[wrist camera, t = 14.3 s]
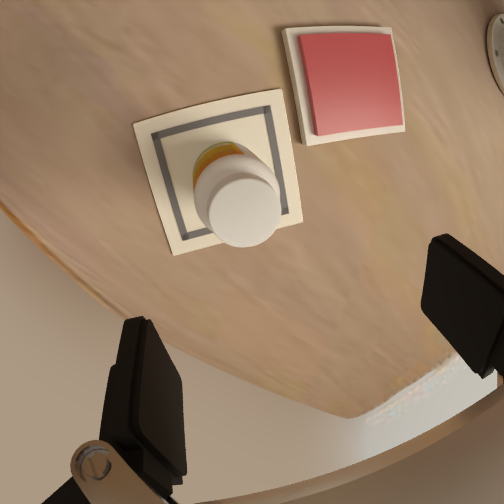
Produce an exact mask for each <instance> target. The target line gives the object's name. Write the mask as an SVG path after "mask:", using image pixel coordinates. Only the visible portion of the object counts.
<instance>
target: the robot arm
mask: <svg viewBox="0 0 504 504" xmlns="http://www.w3.org/2000/svg"><path fill="white" fill-rule="evenodd" d="M487 49H488V56H489V61H490V65H491V68H492V72H493V74H494V77H495V79H496V82H497V84H498V86H499V88H500V89H501V91H502V92H503V94H504V14H497V15H495V16H494V17H493V18H492V19H491V21H490V23H489V26H488V30H487ZM421 309H422V311H423V313H424V314H425V315H426V316H427V317H428V319H429V320H430V321H431V322H432V323H433V324H434V325H435V326H436V328H437V329H438V330H439V331H440V332H441V333H442V335H443V336H444V337H445V338H446V339H447V340H448V342H449V343H450V344H451V345H452V346H453V348H454V349H455V350H456V351H457V352H458V354H459V355H460V356H461V357H462V358H463V360H464V361H465V362H466V363H467V365H468V366H469V367H470V368H471V370H472V371H473V372H474V373H478V374H479V376H480V377H481V378H482V379H483V378H485V377H487V376H488V375H490V374H491V373H493V371H494V369H496V370H497V372H498V373H497V377H498V378H497V381H498V382H497V383H498V384H497V389H496V390H494V391H493V392H491V393H490V394H488V395H487V396H485V397H484V398H482V399H481V400H479V401H478V402H476V403H475V404H473V405H472V406H470V407H469V408H467V409H465V410H464V411H462V412H460V413H459V414H457V415H455V416H454V417H452V418H450V419H449V420H447V421H445V422H443V423H441V424H440V425H438V426H436V427H434V428H432V429H430V430H429V431H427V432H425V433H423V434H421V435H419V436H417V437H415V438H413V439H411V440H409V441H407V442H405V443H403V444H401V445H398V446H396V447H394V448H392V449H390V450H387V451H385V452H383V453H381V454H378V455H376V456H374V457H371V458H368V459H366V460H363V461H361V462H359V463H356V464H353V465H351V466H348V467H345V468H342V469H339V470H337V471H334V472H331V473H328V474H325V475H322V476H318V477H315V478H312V479H309V480H305V481H302V482H298V483H295V484H291V485H287V486H283V487H279V488H275V489H271V490H266V491H262V492H258V493H253V494H248V495H244V496H238V497H233V498H227V499H222V500H215V501H208V502H202V503H196V504H504V275H503V274H501V273H500V272H499V271H498V270H496V269H495V268H494V267H493V266H491V265H490V264H489V263H487V262H486V261H485V260H484V259H482V258H481V257H480V256H478V255H477V254H476V253H474V252H473V251H472V250H470V249H469V248H467V247H466V246H465V245H463V244H462V243H461V242H459V241H458V240H456V239H455V238H454V237H452V236H451V235H449V234H442V235H439V236H436V237H434V238H432V240H431V243H430V244H429V247H428V255H427V264H426V272H425V279H424V286H423V292H422V299H421ZM70 467H71V473H72V475H73V476H72V477H71V478H70V479H69V480H68V481H67V482H65V483H64V484H63V485H62V486H61V487H60V488H59V489H58V490H57V491H55V492H54V493H53V494H52V495H51V496H50V497H49V498H47V499H46V500H45V501H44V502H43V503H42V504H180V503H179V502H177V501H176V500H175V499H174V498H173V497H172V496H171V494H172V493H173V489H172V485H181V484H183V480H182V476H185V475H186V474H187V462H186V449H185V434H184V418H183V393H182V381H181V377H180V375H179V373H178V371H177V369H176V367H175V366H174V364H173V362H172V360H171V358H170V356H169V354H168V352H167V350H166V349H165V347H164V345H163V343H162V341H161V339H160V337H159V335H158V333H157V331H156V329H155V327H154V325H153V323H152V321H151V320H150V319H148V320H146V319H145V318H144V317H143V316H140V317H135V318H131V319H126V320H125V321H124V324H123V329H122V334H121V339H120V344H119V349H118V354H117V359H116V364H115V365H113V366H112V367H111V369H110V372H109V377H108V383H107V388H106V394H105V400H104V407H103V413H102V420H101V427H100V435H99V440H92V441H88V442H86V443H84V444H82V445H81V446H80V447H79V448H78V449H77V450H76V451H75V453H74V454H73V456H72V459H71V464H70Z"/></svg>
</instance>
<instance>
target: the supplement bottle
mask: <svg viewBox="0 0 504 504" xmlns="http://www.w3.org/2000/svg"><path fill="white" fill-rule="evenodd" d="M192 177H193V192H194V204H195V208H196V212H197V214H198V216H199V218H200V220H201V221H202V223H203V224H204V225H205V226H206V227H207V228H208V229H209V230H211V231H212V232H213V233H214V234H215V235H216V236H217V237H218V238H219V239H220V240H221V241H223V242H224V243H226V244H228V245H231V246H234V247H251V246H255V245H257V244H260V243H262V242H263V241H265V240H266V239H268V238H269V237H270V236H271V235H272V234H273V233H274V231H275V230H276V228H277V226H278V224H279V221H280V218H281V203H280V188H279V184H278V181H277V179H276V177H275V175H274V173H273V172H272V171H271V169H270V168H269V167H268V166H267V165H266V164H265V163H264V162H263V161H261V160H260V159H259V158H258V157H257V156H256V155H255V154H254V153H253V152H251V151H250V150H249V149H248V148H246V147H245V146H243V145H241V144H238V143H235V142H219V143H216V144H213V145H211V146H209V147H208V148H206V149H205V150H204V151H203V152H202V153H201V154H200V155H199V157H198V158H197V160H196V162H195V164H194V168H193V175H192Z"/></svg>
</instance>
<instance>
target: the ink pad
mask: <svg viewBox="0 0 504 504" xmlns="http://www.w3.org/2000/svg"><path fill="white" fill-rule="evenodd" d="M281 33H282V38H283V43H284V47H285V52H286V57H287V62H288V67H289V72H290V77H291V82H292V88H293V93H294V99H295V104H296V110H297V116H298V122H299V128H300V134H301V140H302V144H303V145H305V146H311V145H316V144H322V143H328V142H334V141H340V140H346V139H352V138H359V137H366V136H373V135H380V134H388V133H396V132H405V121H404V110H403V100H402V91H401V83H400V76H399V69H398V62H397V56H396V50H395V45H394V39H393V34H392V29H391V28H387V27H370V26H314V27H296V28H285V29H284V30H282V31H281Z"/></svg>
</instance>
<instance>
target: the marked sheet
mask: <svg viewBox="0 0 504 504" xmlns="http://www.w3.org/2000/svg"><path fill="white" fill-rule="evenodd" d="M133 126H134V130H135V134H136V137H137V141H138V145H139V148H140V152H141V155H142V159H143V162H144V166H145V169H146V172H147V176H148V179H149V182H150V186H151V189H152V192H153V195H154V199H155V202H156V205H157V208H158V211H159V214H160V217H161V220H162V223H163V226H164V229H165V232H166V235H167V238H168V241H169V244H170V247H171V250H172V253H173V256H175V255H179V254H183V253H186V252H190V251H194V250H198V249H201V248H205V247H209V246H213V245H216V244H220V243H224V242H223V241H221V240H220V239H219V238H218V237H217V236H216V235H215V234H214V233H213V232H212V231H211V230H209V229H208V228H207V227H206V226H205V225H204V224H203V223H202V221H201V220H200V218H199V216H198V214H197V212H196V208H195V204H194V192H193V177H192V175H193V168H194V164H195V162H196V160H197V158H198V157H199V155H200V154H201V153H202V152H203V151H204V150H205V149H206V148H208V147H209V146H211V145H213V144H216V143H219V142H235V143H238V144H241V145H243V146H245V147H246V148H248V149H249V150H250V151H251V152H253V153H254V154H255V155H256V156H257V157H258V158H259V159H260V160H261V161H263V162H264V163H265V164H266V165H267V166H268V167H269V168H270V169H271V171H272V172H273V173H274V175H275V177H276V179H277V181H278V184H279V188H280V203H281V218H280V221H279V224H278V226H277V228H276V229H278V228H282V227H286V226H290V225H294V224H298V223H302V222H303V216H302V209H301V202H300V195H299V188H298V181H297V175H296V168H295V162H294V156H293V149H292V143H291V137H290V132H289V126H288V120H287V114H286V109H285V104H284V98H283V93H282V89H276V90H269V91H263V92H258V93H252V94H247V95H242V96H237V97H232V98H227V99H222V100H218V101H213V102H209V103H205V104H201V105H197V106H193V107H189V108H185V109H181V110H178V111H174V112H170V113H167V114H163V115H160V116H157V117H153V118H150V119H147V120H143V121H140V122H137V123H134V124H133Z"/></svg>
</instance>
